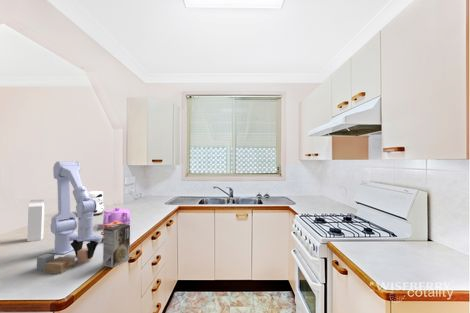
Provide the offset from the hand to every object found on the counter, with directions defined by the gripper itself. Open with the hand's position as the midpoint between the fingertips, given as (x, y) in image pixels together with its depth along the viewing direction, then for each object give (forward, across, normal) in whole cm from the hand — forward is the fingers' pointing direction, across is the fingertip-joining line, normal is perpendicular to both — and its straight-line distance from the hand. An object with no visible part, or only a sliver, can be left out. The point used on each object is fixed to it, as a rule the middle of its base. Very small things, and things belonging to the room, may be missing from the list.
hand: (84, 257), depth 109 cm
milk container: (+2, -57, +83) cm, 101 cm away
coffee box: (+2, +15, 0) cm, 15 cm away
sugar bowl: (+2, -5, +30) cm, 30 cm away
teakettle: (+2, -19, +56) cm, 59 cm away
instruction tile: (+1, -9, 0) cm, 9 cm away
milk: (+2, -46, +22) cm, 51 cm away
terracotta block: (+2, 0, 0) cm, 2 cm away
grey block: (+2, -10, -9) cm, 14 cm away
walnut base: (+1, -4, -9) cm, 10 cm away
